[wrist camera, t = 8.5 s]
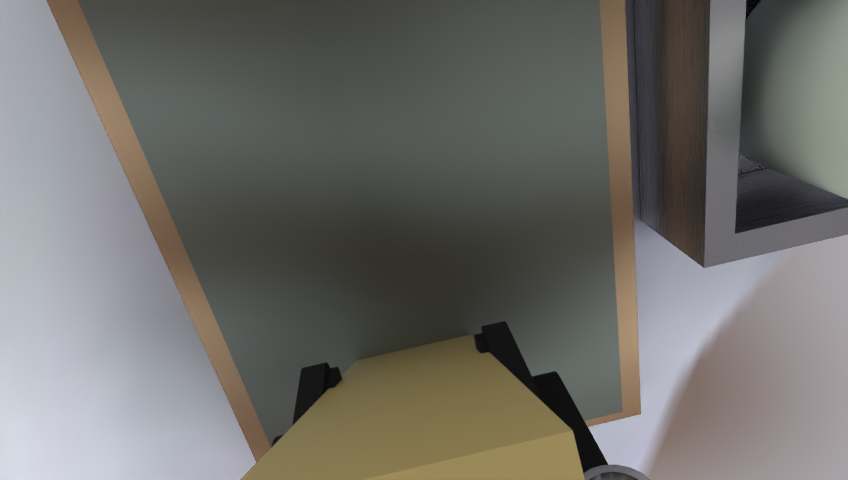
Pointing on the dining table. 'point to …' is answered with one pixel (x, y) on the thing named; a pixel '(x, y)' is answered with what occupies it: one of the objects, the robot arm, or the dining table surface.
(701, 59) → the button housing
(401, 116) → the slate board
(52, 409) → the dining table surface
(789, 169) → the button cap
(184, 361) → the dining table surface
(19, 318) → the dining table surface
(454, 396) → the chalk stick
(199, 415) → the dining table surface
